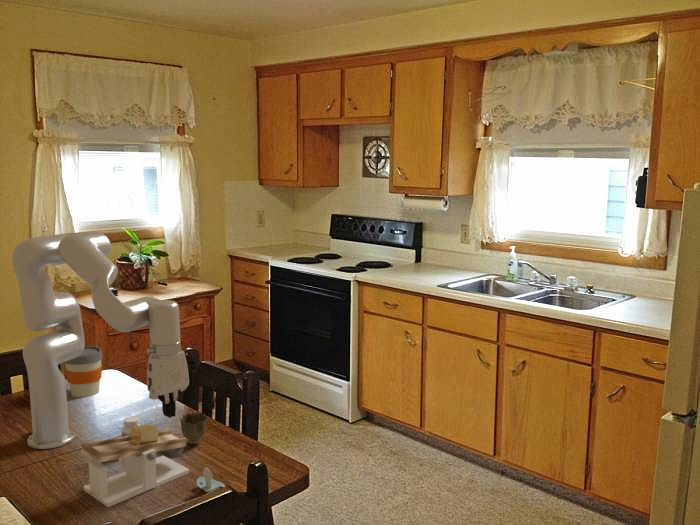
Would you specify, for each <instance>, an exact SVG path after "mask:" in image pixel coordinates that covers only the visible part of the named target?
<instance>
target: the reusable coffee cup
mask: <svg viewBox="0 0 700 525" xmlns="http://www.w3.org/2000/svg"><path fill="white" fill-rule="evenodd" d="M102 352H103V350H102V348H100V347H99V346H91V345H89V346H88V345H84V350H83V352H82V353H81V355H79V356H78V357H76V358H74V359H71V360H69V361H66V362H63V363H64V364H65V365H64V366H65V367H64V371H65V378H66V381H67V382H68V386H69V390H70V394H71V396H72V397H74V398H88V397H93V396H95V395H98V394H99V392H100V381H101V380H102V379H101V378H102V374H103V364H102V359H103V358H104V357H103V353H102ZM67 382H66V383H67Z"/></svg>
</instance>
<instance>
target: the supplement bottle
mask: <svg viewBox="0 0 700 525" xmlns="http://www.w3.org/2000/svg"><path fill="white" fill-rule="evenodd" d="M123 425H124V426H123V427H121V437H125V436H130V431H131V427H132V426H139V425H140V418H139V417H138V416H128V417H125V418H124V420H123Z"/></svg>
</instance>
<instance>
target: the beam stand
mask: <svg viewBox="0 0 700 525" xmlns="http://www.w3.org/2000/svg"><path fill="white" fill-rule="evenodd" d="M125 437H126V436H125ZM156 454H157V452H156V451H155V450H154V449H151V450H149V451H146V452H143V453H142V455H137V456H131V457H126V458H121V459H118V471H119V472H117V473H114V474H112V475H109V476H108V471H107V470H108V468H107V465H106V464H104V463H102V462H99V463H97V462H95V461H94V460H92V461H89V462H88V476H89V477H88V478H89V483H88V484H85V485H83V487H82V488H83V491H84V492H85V493H87V494H89V495H90V496H92V497H93V498H94V499H96V500H97V501H98V502H100V503H101V504H102V505H104V506H105V507H107V508H109V507H110V508H111V507H112V506H115V505H117V504H120V503H121V502H124V501H126V500H129V499H131V498H133V497H136V496H138V495H140V494H143V493H145V492H148V491H150V490H152V489H154V488H158V487H160V486H161V485H164V484H166V483H170V482H171V481H174V480H176V479H179V478H181V477H184V476H186V475H188V474H190V469H189V468H188V467H186V466H184V465H183V464H180V463H178V462H177V461H175V460H173V459H169V458H167V457H165V456H163V455H161V456H158V457H157V456H156Z"/></svg>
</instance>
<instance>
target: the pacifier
mask: <svg viewBox="0 0 700 525" xmlns="http://www.w3.org/2000/svg"><path fill="white" fill-rule="evenodd" d="M202 474H203V476H200V477H198V478H197V479H196V485H197V487H198V488H199V489H201V490H203V491H204V492H206V493H209V492H211V491H213V490H215V489H217V488H218V489H220V488H221V487H225V488H226V486H225V484H224V483H222V482H221V481H218V480H217V479H214V478H213V473H212V471H211V470H210V468H208V467H204V468H203V471H202ZM209 494H210V493H209Z"/></svg>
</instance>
